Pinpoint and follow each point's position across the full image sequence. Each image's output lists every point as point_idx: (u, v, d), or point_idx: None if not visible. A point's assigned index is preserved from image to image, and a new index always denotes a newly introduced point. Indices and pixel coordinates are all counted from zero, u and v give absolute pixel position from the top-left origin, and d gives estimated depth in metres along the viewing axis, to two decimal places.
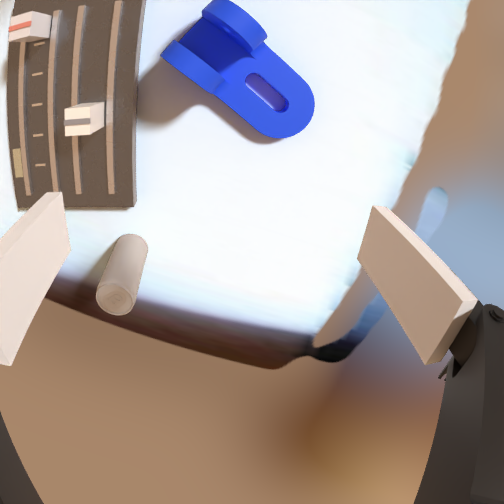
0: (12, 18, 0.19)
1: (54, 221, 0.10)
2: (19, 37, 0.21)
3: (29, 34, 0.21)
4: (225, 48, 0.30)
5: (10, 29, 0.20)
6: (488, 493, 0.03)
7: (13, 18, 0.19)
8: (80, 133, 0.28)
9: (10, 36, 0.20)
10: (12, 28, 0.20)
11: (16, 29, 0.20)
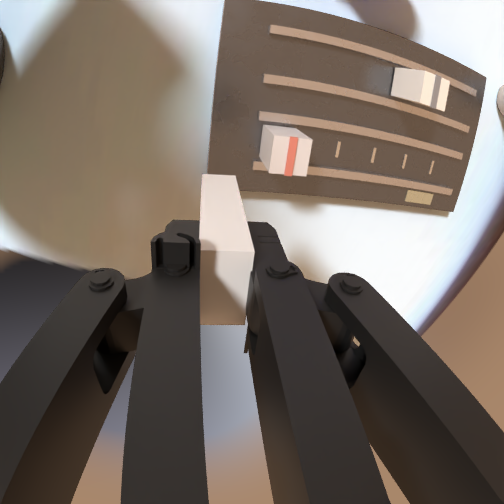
0: (272, 170, 0.24)
1: None
2: (308, 157, 0.24)
3: (310, 140, 0.23)
4: None
5: (288, 173, 0.24)
6: None
7: (272, 168, 0.24)
8: (446, 91, 0.21)
9: (300, 173, 0.24)
10: (288, 169, 0.24)
11: (294, 161, 0.24)
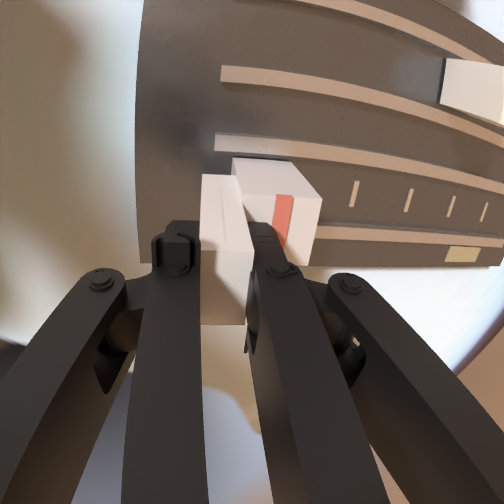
0: None
1: None
2: (312, 231, 0.13)
3: (317, 199, 0.12)
4: None
5: None
6: None
7: None
8: None
9: (296, 260, 0.13)
10: None
11: (285, 242, 0.12)
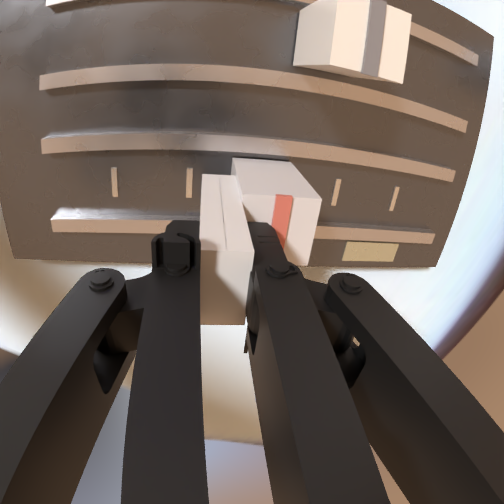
0: None
1: None
2: (311, 232, 0.13)
3: (317, 199, 0.12)
4: None
5: None
6: None
7: None
8: (404, 37, 0.09)
9: (295, 260, 0.13)
10: None
11: (284, 242, 0.12)
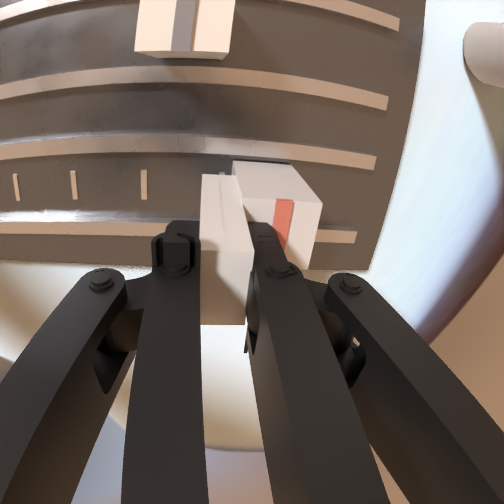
0: None
1: None
2: (312, 236, 0.13)
3: (317, 203, 0.12)
4: None
5: None
6: None
7: None
8: None
9: None
10: None
11: (284, 246, 0.12)
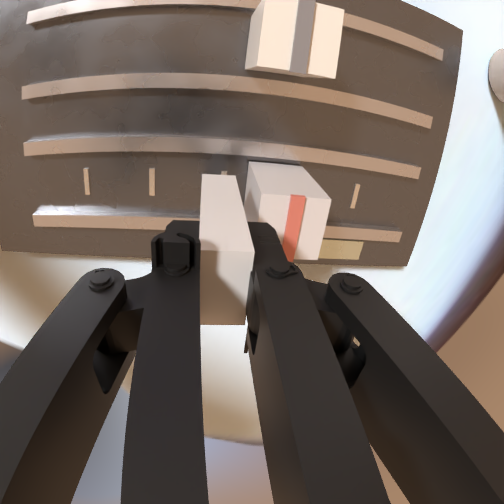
0: None
1: None
2: (322, 229, 0.14)
3: (327, 199, 0.13)
4: None
5: (288, 257, 0.15)
6: None
7: None
8: (336, 33, 0.10)
9: (307, 255, 0.15)
10: (287, 250, 0.14)
11: (297, 238, 0.14)
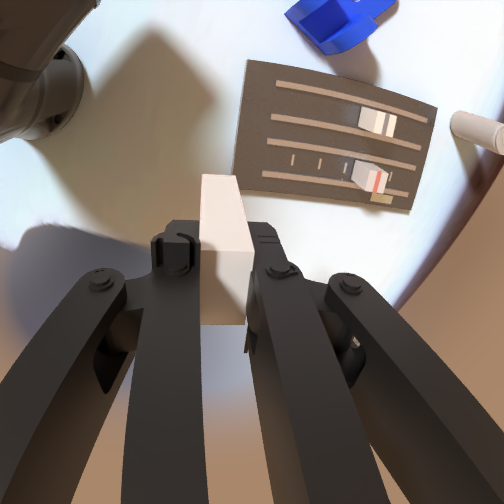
0: (366, 189, 0.41)
1: None
2: (385, 183, 0.41)
3: (387, 173, 0.40)
4: (328, 10, 0.32)
5: (374, 191, 0.41)
6: None
7: (367, 188, 0.41)
8: (394, 123, 0.36)
9: (380, 191, 0.41)
10: (374, 189, 0.41)
11: (378, 185, 0.40)
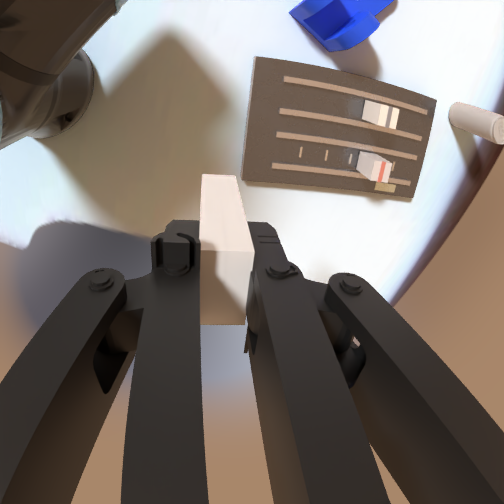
0: (371, 179, 0.42)
1: None
2: (389, 172, 0.42)
3: (391, 163, 0.41)
4: (331, 8, 0.33)
5: (379, 181, 0.43)
6: None
7: (372, 178, 0.42)
8: (396, 116, 0.38)
9: (384, 180, 0.43)
10: (379, 178, 0.42)
11: (383, 174, 0.42)
